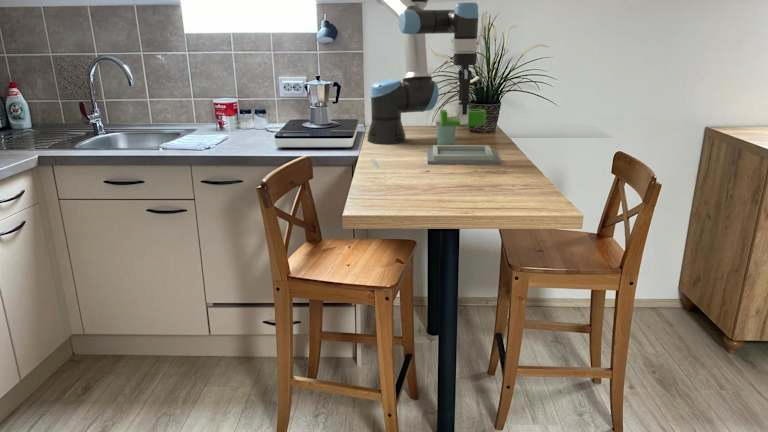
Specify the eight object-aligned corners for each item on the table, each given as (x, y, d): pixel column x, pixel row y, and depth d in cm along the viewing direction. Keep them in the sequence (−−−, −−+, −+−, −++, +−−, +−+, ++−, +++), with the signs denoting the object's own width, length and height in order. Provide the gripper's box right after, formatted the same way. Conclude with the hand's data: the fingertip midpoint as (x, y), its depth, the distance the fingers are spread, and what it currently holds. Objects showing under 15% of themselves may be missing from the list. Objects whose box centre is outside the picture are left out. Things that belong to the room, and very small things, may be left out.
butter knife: (378, 158, 201) (369, 158, 201) (391, 179, 176) (381, 179, 176) (378, 160, 201) (369, 160, 201) (391, 181, 176) (381, 181, 176)
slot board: (427, 163, 194) (427, 156, 193) (427, 151, 213) (427, 144, 212) (500, 164, 193) (500, 156, 192) (493, 151, 211) (493, 144, 211)
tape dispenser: (483, 122, 202) (484, 108, 201) (487, 125, 195) (487, 111, 194) (440, 122, 202) (440, 109, 201) (442, 126, 196) (442, 112, 194)
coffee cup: (456, 145, 223) (457, 113, 219) (457, 149, 215) (458, 117, 211) (434, 144, 224) (434, 113, 220) (434, 149, 216) (434, 117, 212)
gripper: (479, 53, 182) (476, 127, 189) (474, 50, 201) (471, 117, 208) (455, 54, 182) (453, 127, 190) (452, 51, 201) (450, 117, 208)
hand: (463, 122), depth 199 cm, fingers closed on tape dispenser, 7 cm apart
